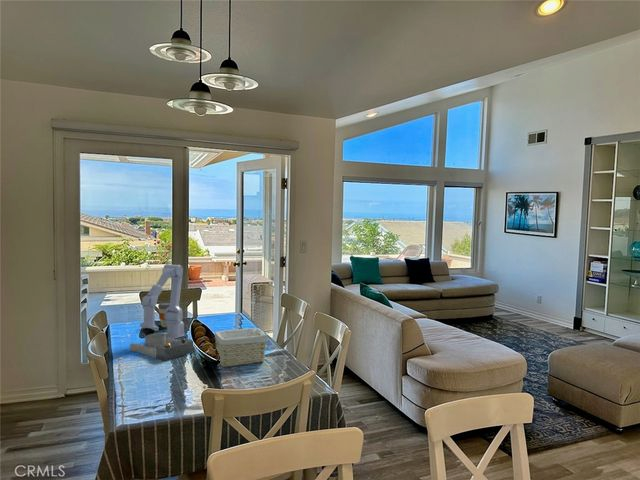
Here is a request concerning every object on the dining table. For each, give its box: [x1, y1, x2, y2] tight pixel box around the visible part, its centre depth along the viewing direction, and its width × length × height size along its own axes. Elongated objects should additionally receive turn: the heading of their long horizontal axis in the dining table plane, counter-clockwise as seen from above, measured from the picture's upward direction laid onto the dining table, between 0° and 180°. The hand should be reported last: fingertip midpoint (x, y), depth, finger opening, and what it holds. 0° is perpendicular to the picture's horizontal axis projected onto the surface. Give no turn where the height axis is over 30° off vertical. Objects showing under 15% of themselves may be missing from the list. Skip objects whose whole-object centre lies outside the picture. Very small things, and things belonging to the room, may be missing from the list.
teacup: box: [144, 332, 168, 348], centre depth 234 cm, size 14×11×8 cm
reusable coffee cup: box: [157, 300, 176, 328], centre depth 282 cm, size 13×13×15 cm
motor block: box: [129, 337, 194, 362], centre depth 231 cm, size 22×28×7 cm
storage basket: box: [214, 327, 268, 368], centre depth 218 cm, size 24×16×15 cm
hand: (149, 341), depth 238 cm, fingers closed
